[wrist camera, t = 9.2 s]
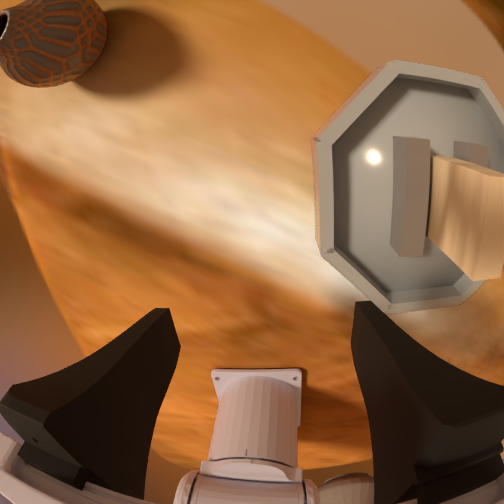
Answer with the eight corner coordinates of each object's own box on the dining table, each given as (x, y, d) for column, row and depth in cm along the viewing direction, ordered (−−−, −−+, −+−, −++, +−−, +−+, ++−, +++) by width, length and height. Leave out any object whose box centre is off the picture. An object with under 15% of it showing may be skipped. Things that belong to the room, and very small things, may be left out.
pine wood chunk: (442, 228, 17) (499, 277, 11) (418, 229, 17) (472, 281, 11) (447, 155, 15) (517, 178, 9) (422, 153, 15) (489, 175, 9)
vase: (50, 28, 14) (-29, 15, 6) (120, -9, 13) (47, -50, 5) (52, 101, 16) (-35, 109, 9) (125, 69, 16) (36, 52, 8)
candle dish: (488, 282, 19) (505, 300, 17) (315, 299, 21) (319, 324, 19) (505, 92, 13) (530, 92, 10) (304, 64, 15) (309, 53, 12)
